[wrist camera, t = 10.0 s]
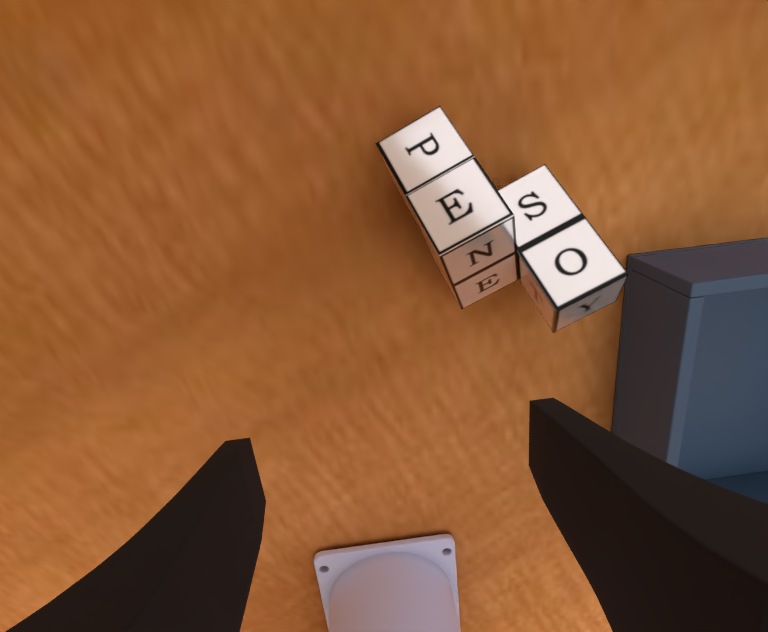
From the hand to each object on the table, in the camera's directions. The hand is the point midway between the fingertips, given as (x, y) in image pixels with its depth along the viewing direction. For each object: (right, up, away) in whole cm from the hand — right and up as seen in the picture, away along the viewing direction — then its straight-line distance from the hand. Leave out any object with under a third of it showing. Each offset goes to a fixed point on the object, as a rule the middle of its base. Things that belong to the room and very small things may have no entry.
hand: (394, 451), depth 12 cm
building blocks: (+4, +8, +9) cm, 12 cm away
